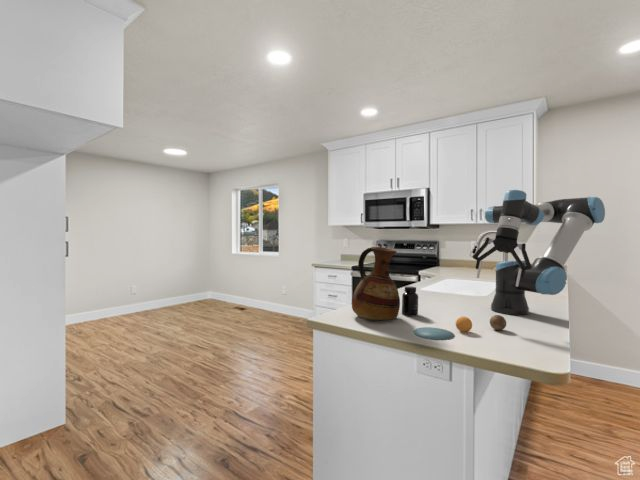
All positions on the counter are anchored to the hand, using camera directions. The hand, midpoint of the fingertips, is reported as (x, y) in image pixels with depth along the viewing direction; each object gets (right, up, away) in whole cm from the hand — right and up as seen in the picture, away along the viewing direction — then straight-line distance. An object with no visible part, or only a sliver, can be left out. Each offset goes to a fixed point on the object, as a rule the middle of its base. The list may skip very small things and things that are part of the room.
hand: (496, 281), depth 130 cm
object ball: (-16, -14, -8) cm, 23 cm away
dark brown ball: (-2, -14, -5) cm, 15 cm away
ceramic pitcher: (-45, -17, +11) cm, 49 cm away
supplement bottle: (-29, -17, +17) cm, 38 cm away
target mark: (-28, -17, -10) cm, 34 cm away
